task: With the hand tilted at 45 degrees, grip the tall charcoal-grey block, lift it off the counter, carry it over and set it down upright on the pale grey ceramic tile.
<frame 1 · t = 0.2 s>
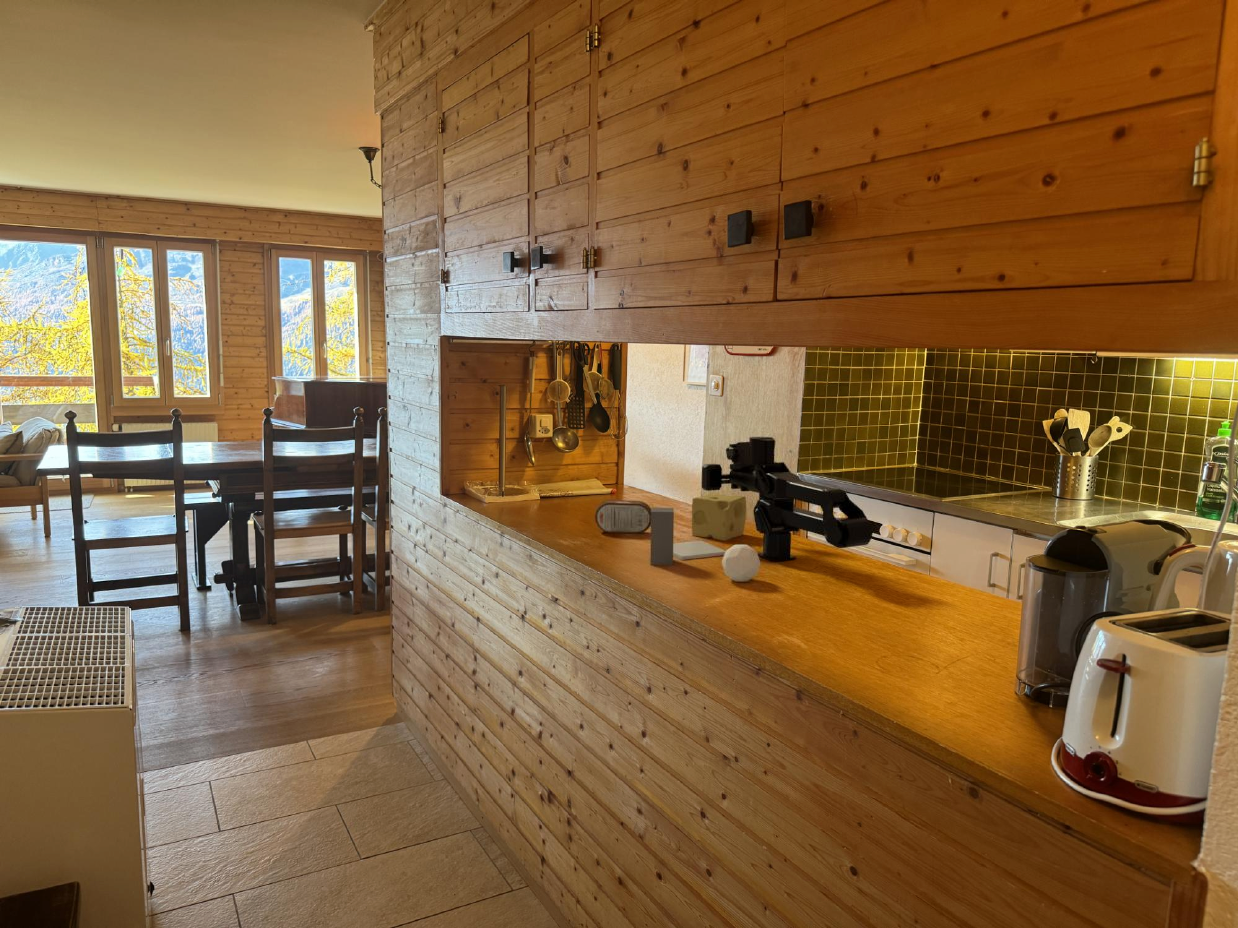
hand: (718, 471, 220), 16 cm above the counter, tool horizontal, fingers open, 9 cm apart
ball: (740, 581, 181), on the counter
cheese: (717, 535, 223), on the counter
tile: (691, 551, 205), on the counter
block: (661, 562, 195), on the counter
tin: (623, 533, 225), on the counter
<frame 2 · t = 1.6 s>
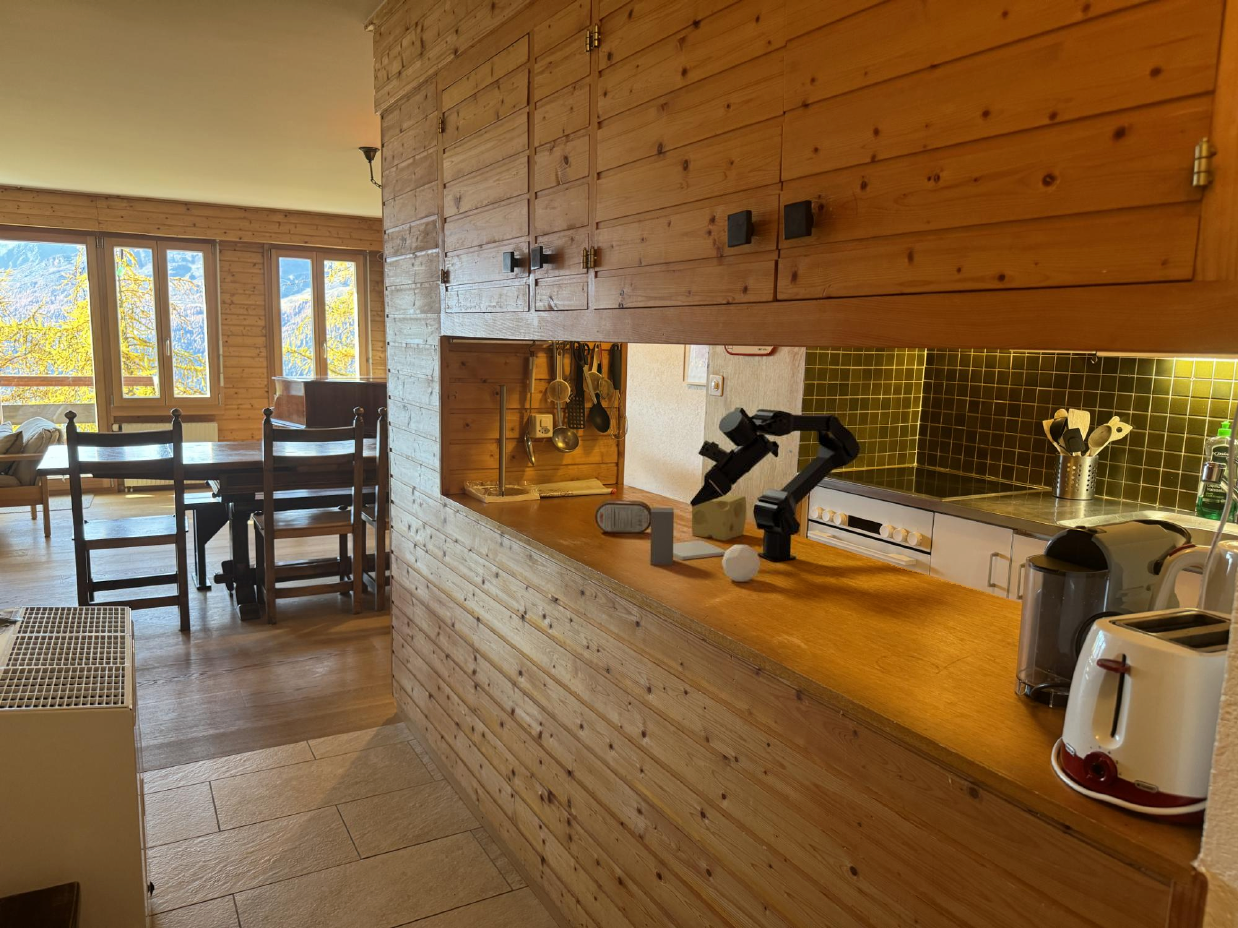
hand: (693, 502, 195), 13 cm above the counter, tool tilted 45°, fingers open, 9 cm apart
nothing on the counter moved.
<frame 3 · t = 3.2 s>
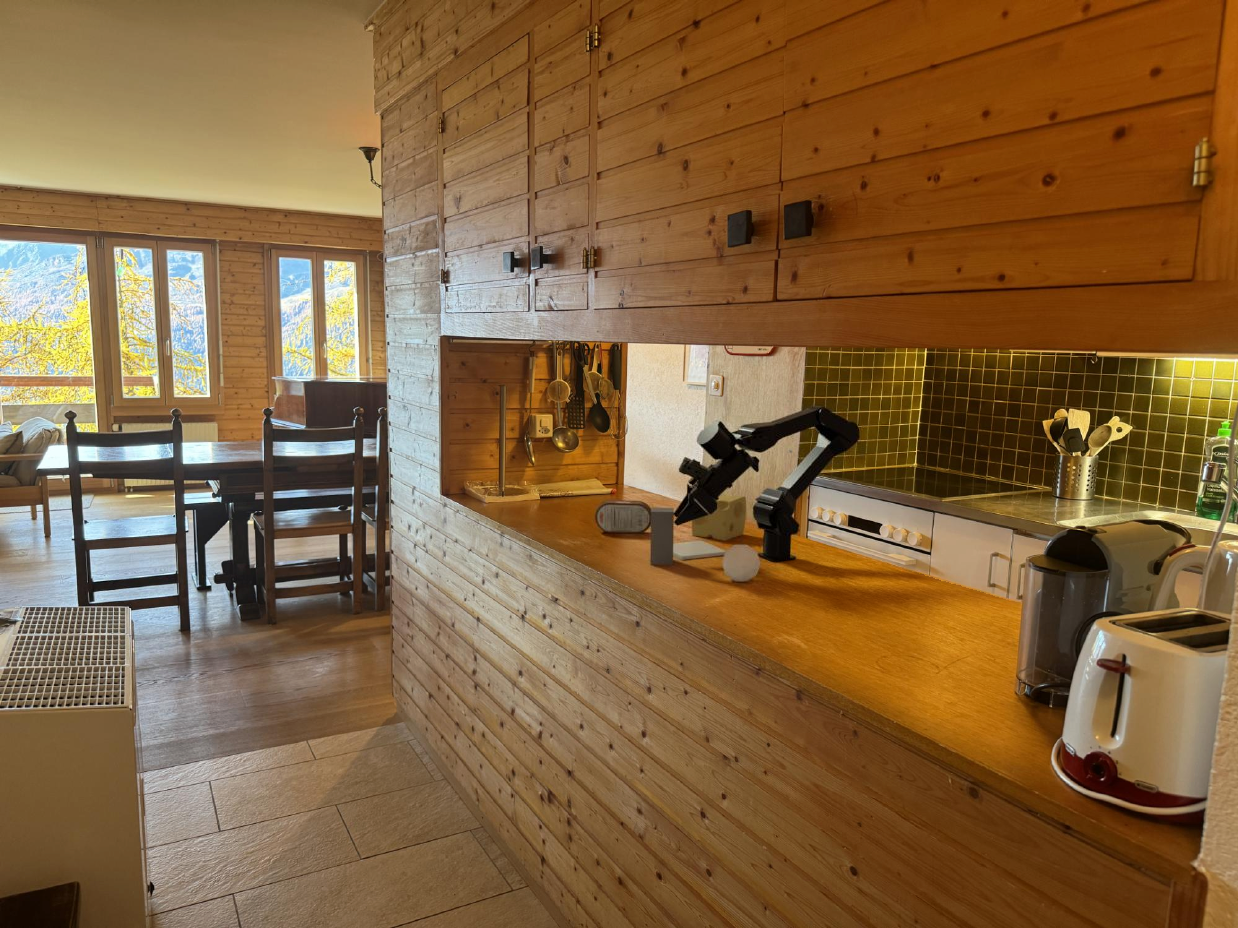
hand: (675, 519, 194), 10 cm above the counter, tool tilted 45°, fingers open, 9 cm apart
nothing on the counter moved.
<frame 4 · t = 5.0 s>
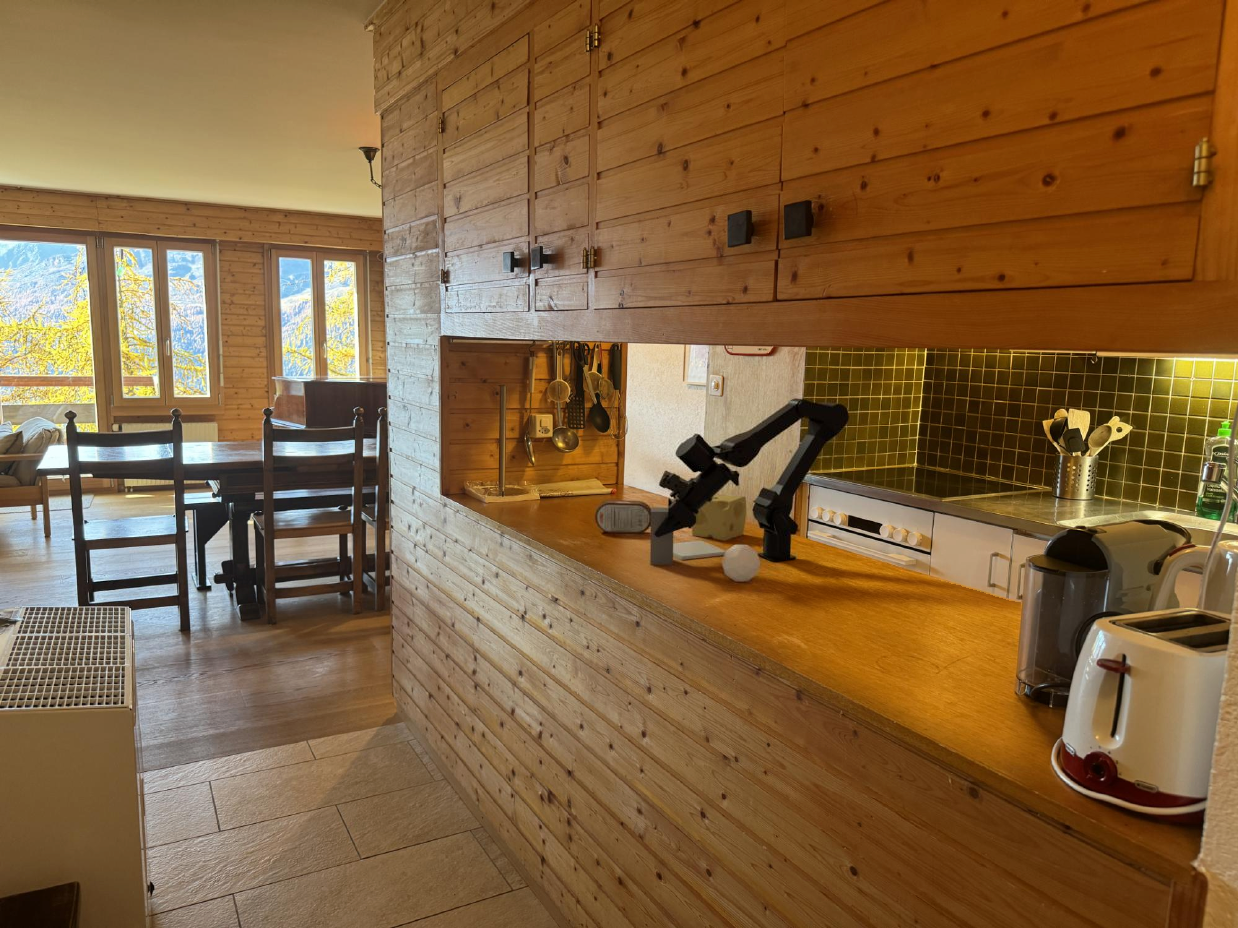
hand: (655, 533, 194), 7 cm above the counter, tool tilted 45°, fingers closed on block, 5 cm apart
block: (661, 562, 195), on the counter, touching gripper
everything else where it was.
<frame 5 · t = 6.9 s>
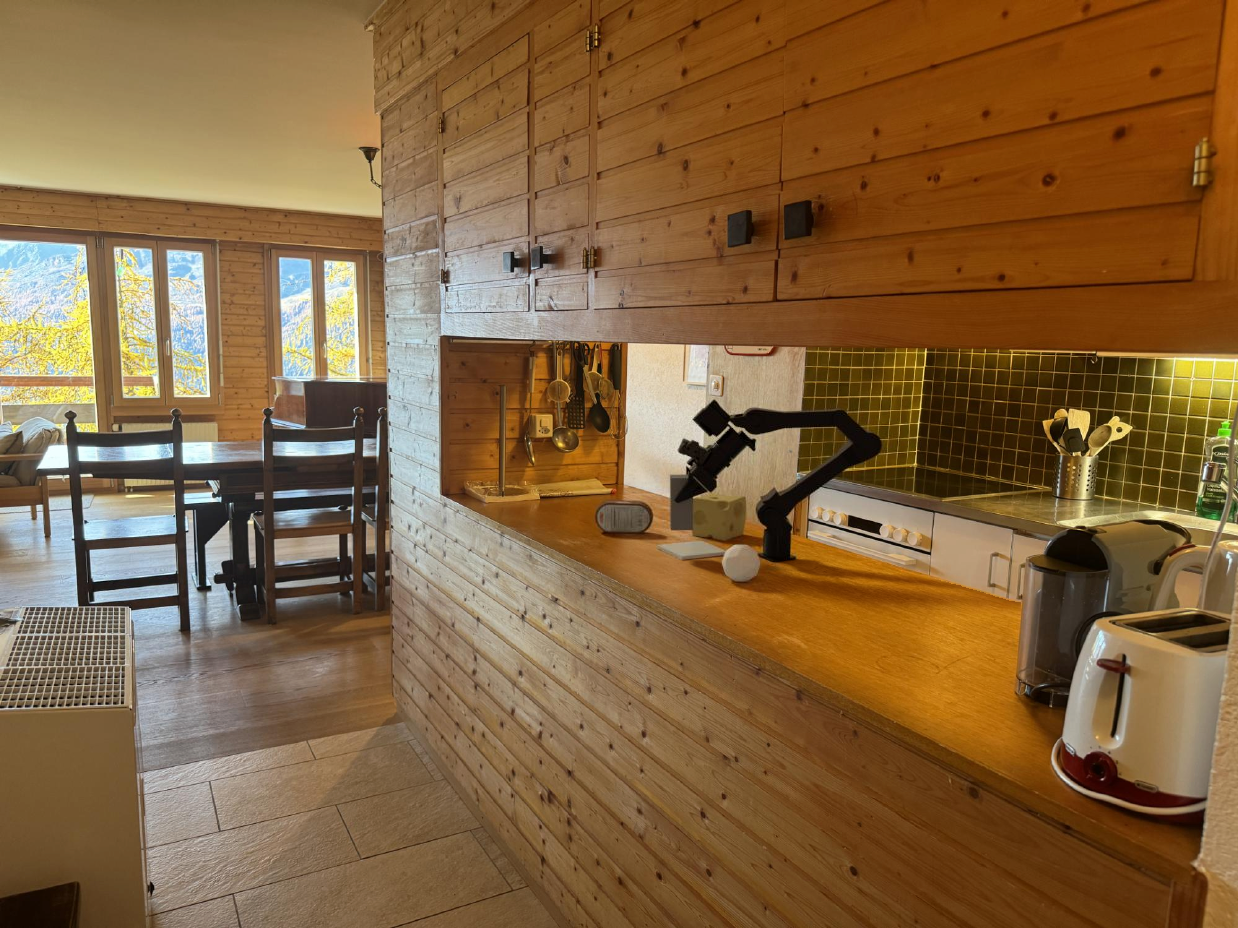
hand: (675, 499, 199), 13 cm above the counter, tool tilted 45°, fingers closed on block, 5 cm apart
block: (681, 527, 200), point 7 cm above the counter, touching gripper
everything else where it was.
when the fingers open (9 cm above the counter, at t = 8.8 s): block drops 2 cm, resting on tile.
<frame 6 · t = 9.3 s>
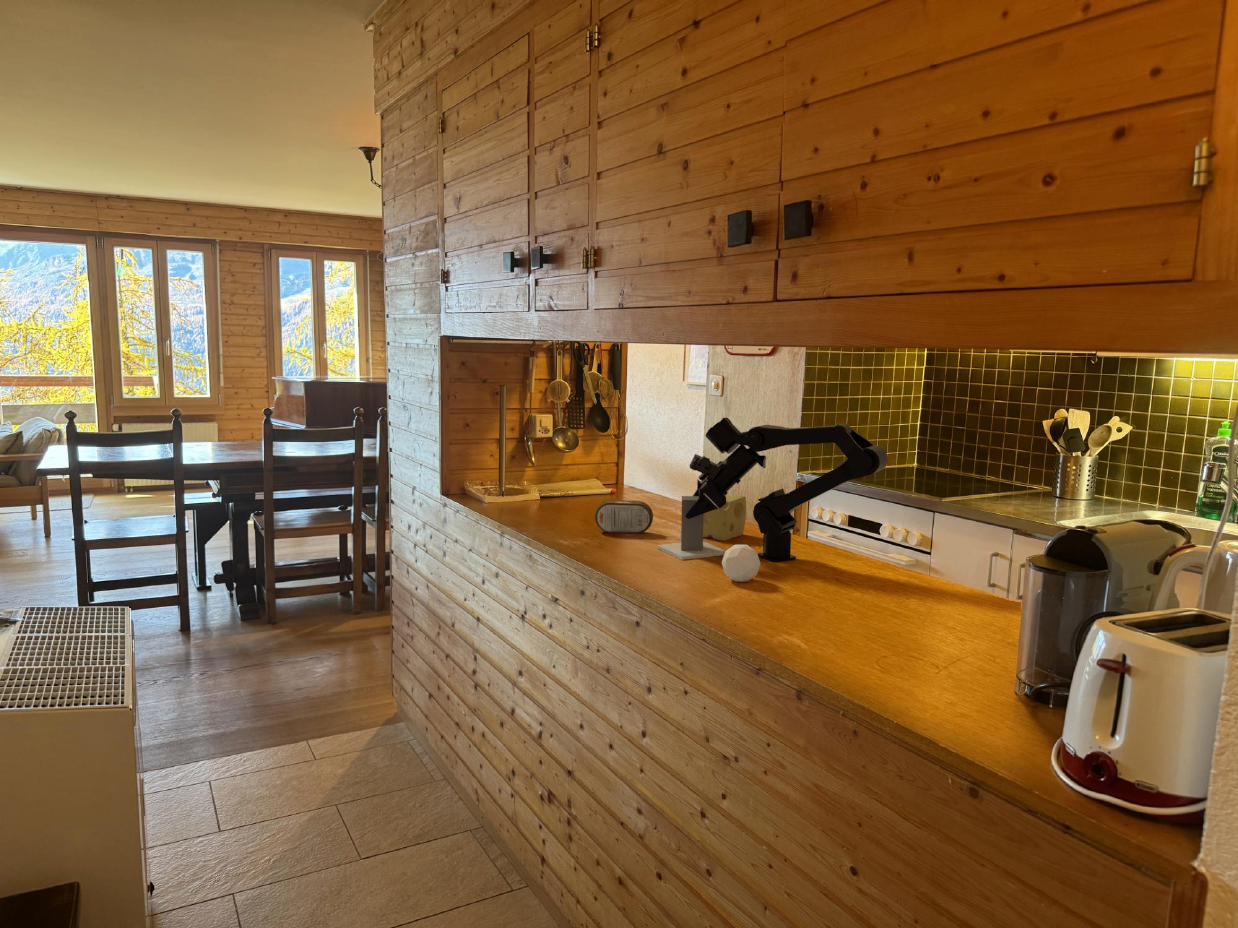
hand: (686, 513, 204), 9 cm above the counter, tool tilted 45°, fingers open, 9 cm apart
block: (691, 548, 205), point 1 cm above the counter, touching tile
everything else where it was.
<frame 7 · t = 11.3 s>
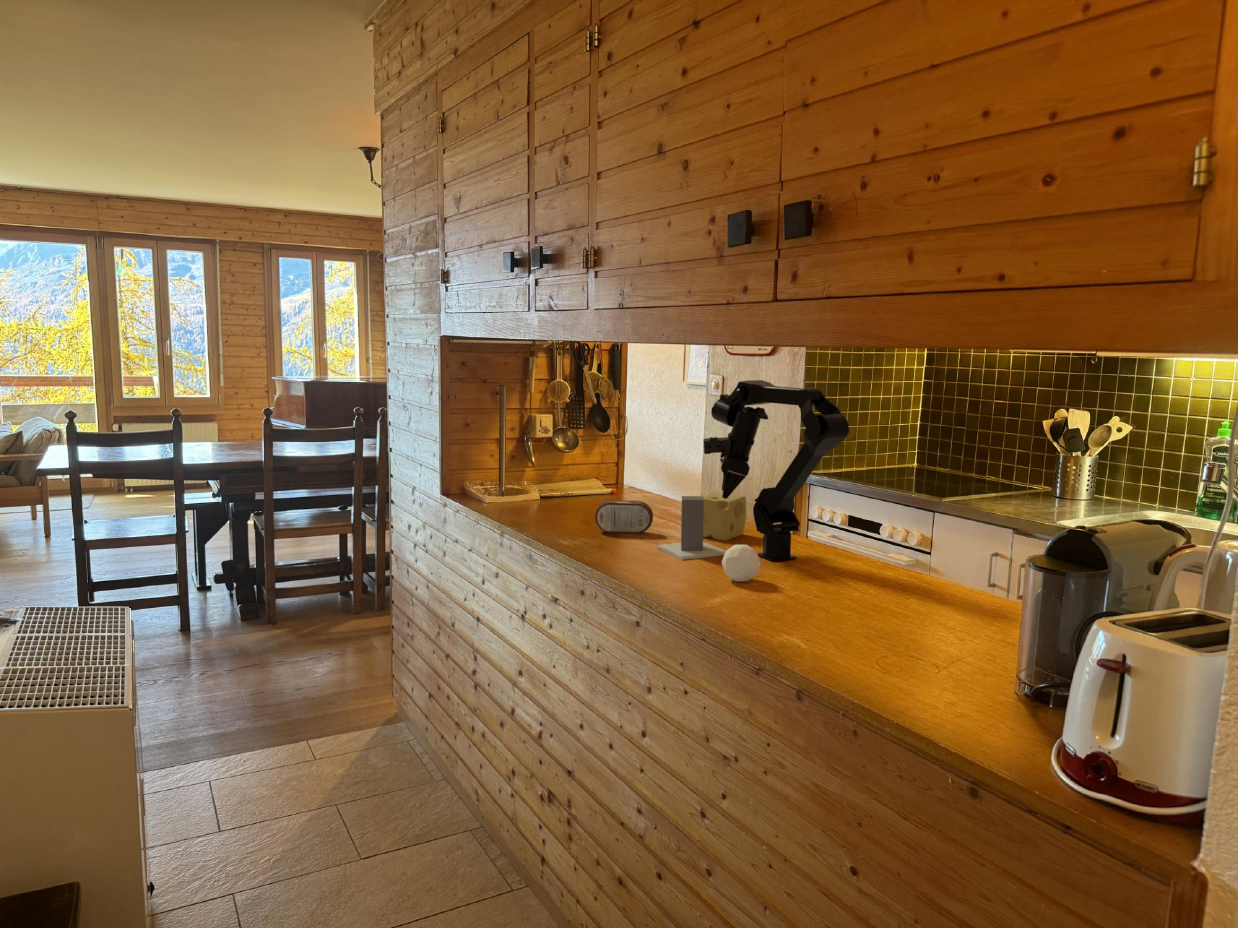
hand: (724, 494, 208), 13 cm above the counter, tool tilted 15°, fingers open, 9 cm apart
nothing on the counter moved.
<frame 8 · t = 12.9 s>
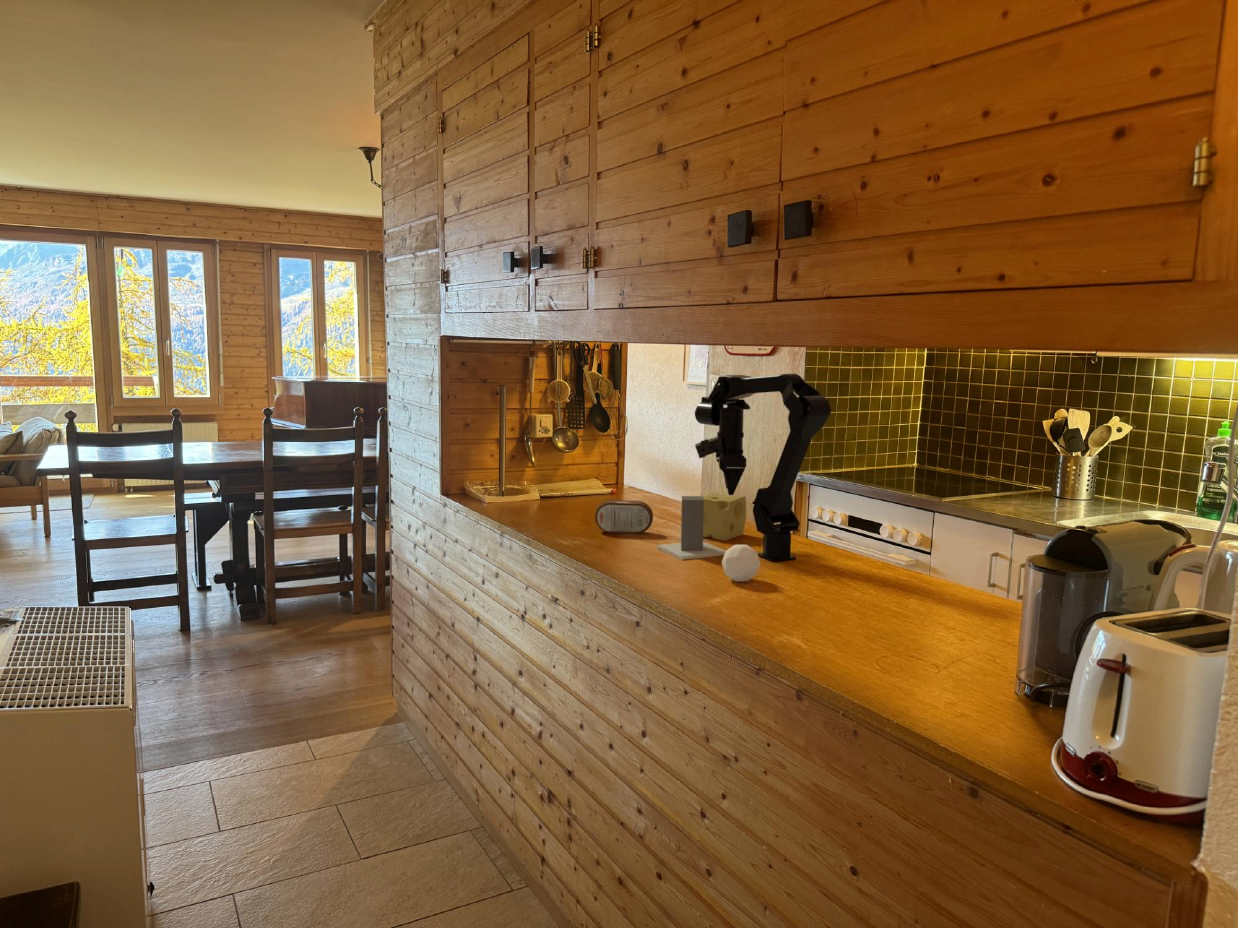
hand: (729, 491, 211), 13 cm above the counter, tool pointing down, fingers open, 9 cm apart
nothing on the counter moved.
at the end: block inside the target area on the tile (0.1 cm from its centre), point 0.8 cm above the tile's base; block tilted 0°; the gripper is holding nothing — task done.
